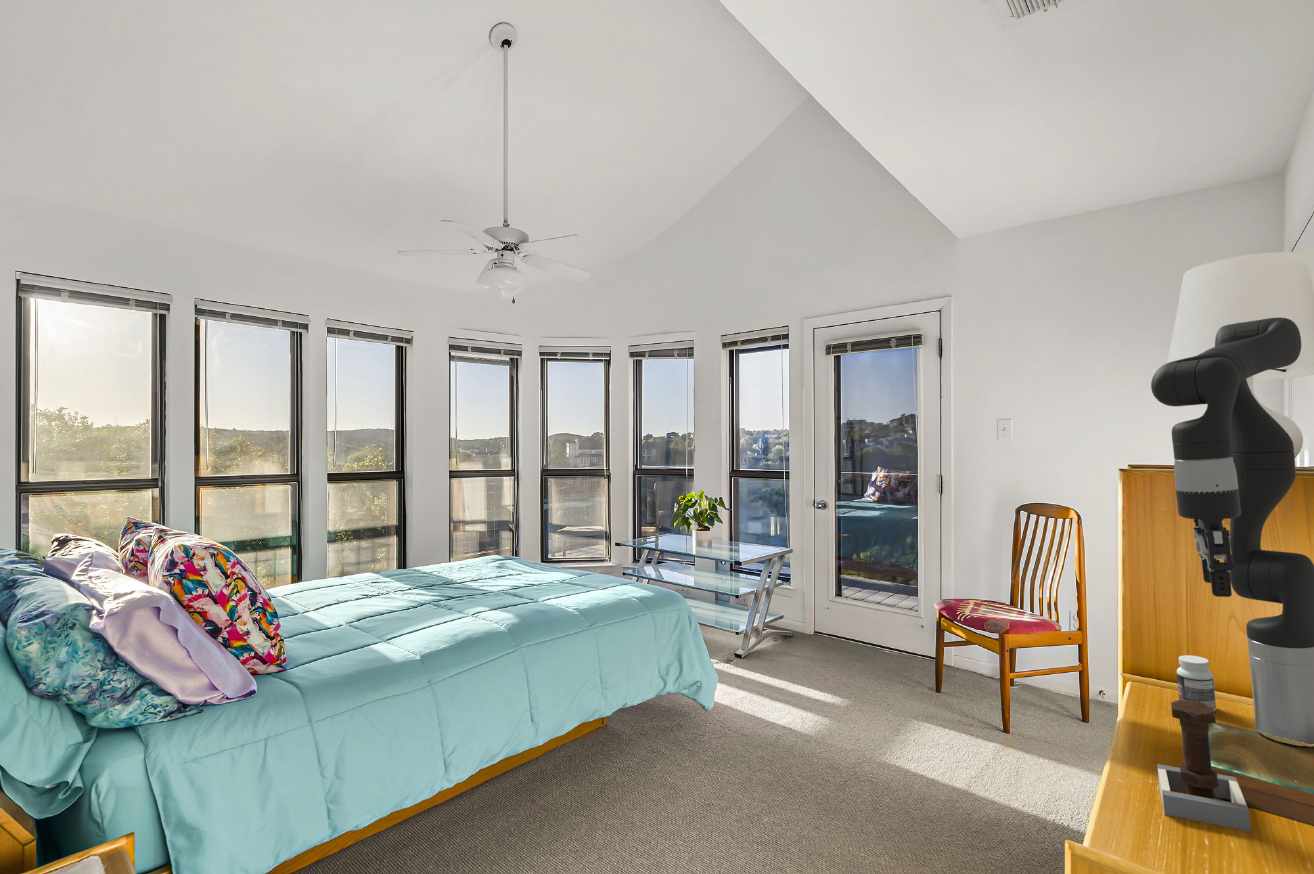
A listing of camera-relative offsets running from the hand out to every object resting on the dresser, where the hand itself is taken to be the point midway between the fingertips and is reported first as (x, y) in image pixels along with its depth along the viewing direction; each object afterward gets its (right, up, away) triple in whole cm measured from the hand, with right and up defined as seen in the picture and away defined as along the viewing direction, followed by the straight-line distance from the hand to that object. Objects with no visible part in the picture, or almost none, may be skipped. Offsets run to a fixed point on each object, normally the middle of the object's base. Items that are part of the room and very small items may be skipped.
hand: (1217, 588), depth 101 cm
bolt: (-5, -32, -3) cm, 33 cm away
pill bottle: (+20, -31, +28) cm, 46 cm away
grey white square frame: (-5, -32, -3) cm, 33 cm away
